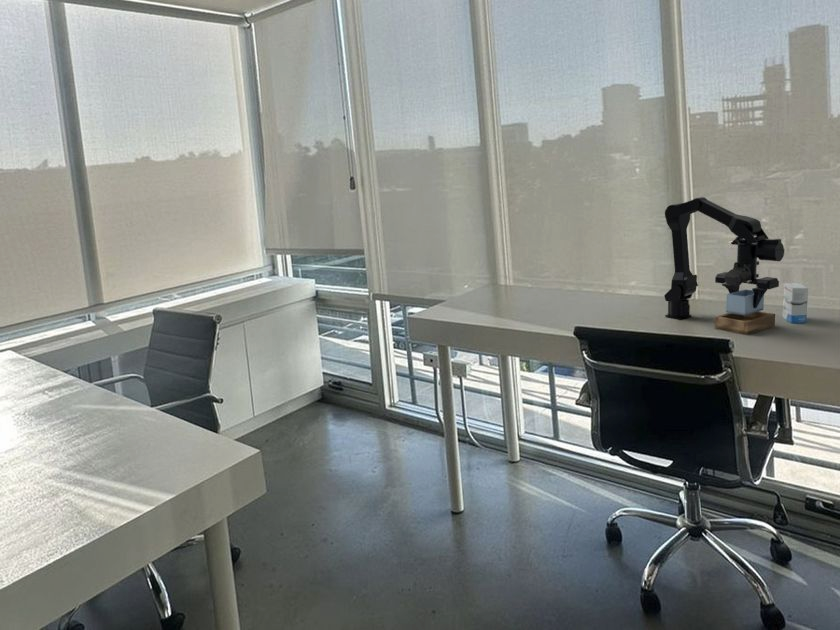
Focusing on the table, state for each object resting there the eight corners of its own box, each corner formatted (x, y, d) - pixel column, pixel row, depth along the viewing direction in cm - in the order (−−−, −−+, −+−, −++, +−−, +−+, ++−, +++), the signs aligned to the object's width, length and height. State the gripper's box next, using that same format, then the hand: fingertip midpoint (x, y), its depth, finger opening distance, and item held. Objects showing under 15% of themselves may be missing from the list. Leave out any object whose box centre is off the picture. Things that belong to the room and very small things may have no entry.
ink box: (806, 323, 220) (808, 287, 217) (790, 323, 221) (792, 288, 218) (797, 316, 228) (799, 282, 225) (781, 317, 229) (783, 283, 226)
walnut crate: (714, 328, 221) (715, 316, 220) (742, 320, 229) (742, 308, 228) (747, 335, 212) (747, 322, 211) (774, 325, 219) (775, 313, 218)
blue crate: (726, 312, 219) (726, 294, 218) (744, 306, 224) (745, 289, 223) (744, 315, 214) (745, 297, 212) (763, 309, 219) (764, 291, 217)
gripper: (705, 259, 219) (703, 306, 222) (759, 265, 203) (757, 315, 207) (726, 255, 224) (724, 300, 228) (781, 260, 209) (778, 309, 212)
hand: (745, 306), depth 219 cm, fingers closed on blue crate, 6 cm apart
